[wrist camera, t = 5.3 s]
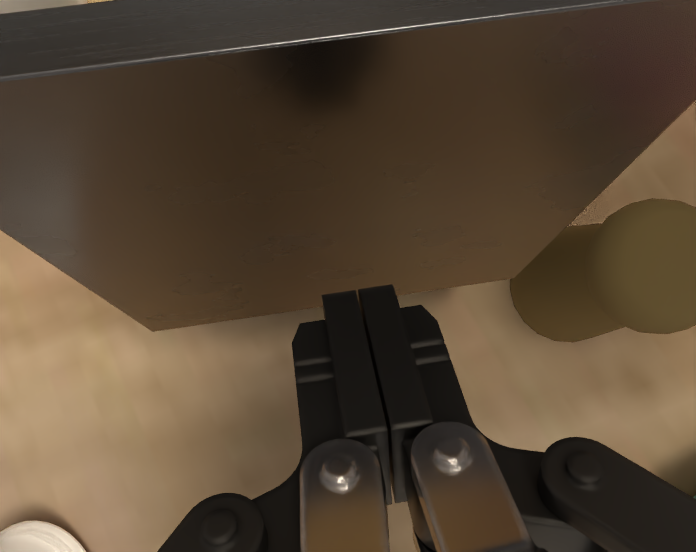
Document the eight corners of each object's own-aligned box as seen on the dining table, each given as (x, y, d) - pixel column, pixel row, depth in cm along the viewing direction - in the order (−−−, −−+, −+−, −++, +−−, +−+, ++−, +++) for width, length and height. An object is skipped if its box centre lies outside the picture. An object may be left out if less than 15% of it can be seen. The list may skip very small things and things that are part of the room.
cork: (491, 252, 35) (571, 214, 24) (595, 210, 35) (720, 154, 24) (537, 360, 34) (639, 372, 24) (641, 316, 35) (790, 308, 24)
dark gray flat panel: (-188, 34, 9) (-192, 103, 8) (798, -83, 9) (823, -22, 9) (149, 305, 24) (152, 331, 24) (508, 252, 25) (514, 278, 25)
